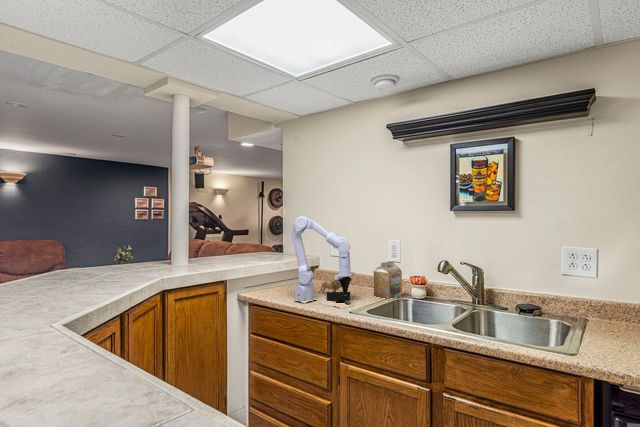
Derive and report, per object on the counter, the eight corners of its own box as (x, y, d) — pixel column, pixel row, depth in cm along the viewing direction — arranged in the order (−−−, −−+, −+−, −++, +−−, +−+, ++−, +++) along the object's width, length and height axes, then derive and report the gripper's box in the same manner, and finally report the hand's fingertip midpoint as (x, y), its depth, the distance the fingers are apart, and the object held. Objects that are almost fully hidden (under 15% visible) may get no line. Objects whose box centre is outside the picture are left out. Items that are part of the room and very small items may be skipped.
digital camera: (336, 302, 196) (326, 302, 192) (336, 292, 197) (326, 292, 193) (350, 302, 189) (340, 303, 184) (350, 291, 190) (340, 291, 185)
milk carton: (389, 300, 195) (388, 263, 195) (374, 297, 203) (373, 261, 203) (402, 297, 202) (401, 261, 202) (386, 294, 210) (386, 260, 210)
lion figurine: (344, 294, 212) (343, 278, 212) (341, 296, 207) (340, 279, 207) (319, 292, 217) (319, 276, 217) (316, 294, 212) (316, 278, 212)
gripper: (341, 267, 185) (342, 295, 185) (359, 264, 196) (359, 290, 196) (330, 266, 190) (331, 293, 190) (348, 263, 201) (349, 288, 201)
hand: (345, 291), depth 193 cm, fingers closed
